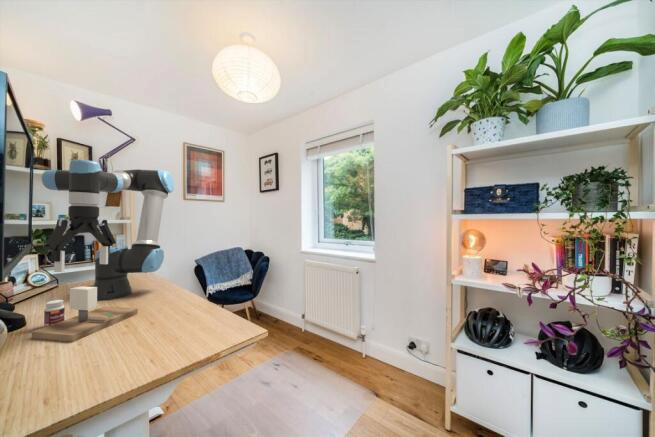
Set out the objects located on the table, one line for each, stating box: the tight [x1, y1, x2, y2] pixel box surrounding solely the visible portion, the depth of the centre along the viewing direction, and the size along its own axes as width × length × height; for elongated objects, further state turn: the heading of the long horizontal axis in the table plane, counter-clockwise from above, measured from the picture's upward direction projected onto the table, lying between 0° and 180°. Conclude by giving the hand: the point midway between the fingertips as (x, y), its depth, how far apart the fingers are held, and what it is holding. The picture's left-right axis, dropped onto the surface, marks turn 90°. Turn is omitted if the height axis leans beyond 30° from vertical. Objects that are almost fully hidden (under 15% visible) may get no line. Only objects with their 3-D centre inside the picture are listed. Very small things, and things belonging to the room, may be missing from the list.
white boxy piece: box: [69, 285, 106, 322], centre depth 84 cm, size 3×12×11 cm, turn 83°
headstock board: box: [30, 305, 139, 343], centre depth 86 cm, size 22×15×2 cm
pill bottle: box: [43, 299, 66, 328], centre depth 85 cm, size 5×5×8 cm
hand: (83, 267), depth 84 cm, fingers open, 13 cm apart
